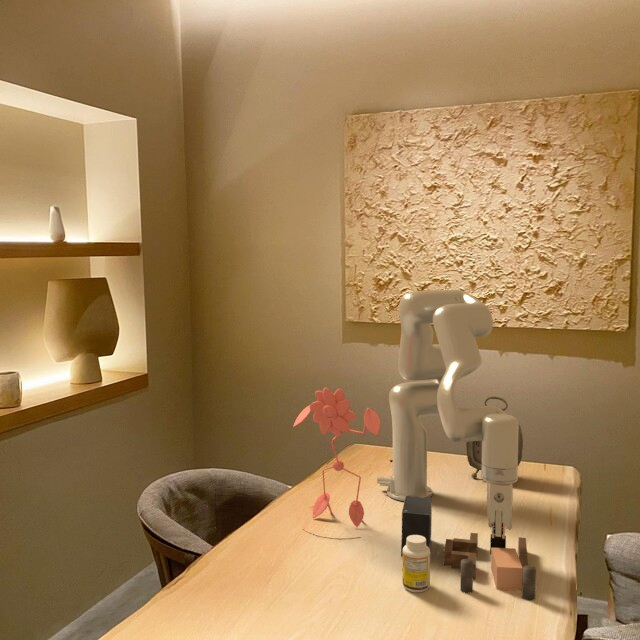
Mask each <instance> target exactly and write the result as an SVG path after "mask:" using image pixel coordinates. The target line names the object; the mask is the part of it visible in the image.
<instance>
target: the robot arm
mask: <svg viewBox="0 0 640 640" xmlns="http://www.w3.org/2000/svg"><path fill="white" fill-rule="evenodd" d="M398 316H399V321H400V327H401V329H400V330H401V333H400V334H401V335H400V343H399V350H398V351H399V353H398V364H397V365H398V367H397V368H398V374H399V376H400V377H401V378H402V379H404V380H406V381H411V382H402V383H398V384H395V386H393V387H392V388H391V389H390V391H389V394H388V402H389V408H390V413H391V415H390V416H391V423H392V424H391V427H392V476H388V477H384V476H377V478H376V482H377V485H378V484H379V486H380V487H387V488H386V494H387V496H388V497H389V498H391V499H394V500H396V501H401V502H405V497H406V496H411V497H421V498H432V496H433V490H432V488H431V487H429V486H428V485H427V484H428V483H427V482H428V480H427V479H428V477H427V475H428V471H427V470H428V433H427V430H426V427H425V426H424V424H422V422H421V421H420V418H421V417H428V416H437V415H439V417H440V421H441V426H442V428H443V431H444V433H445V435H446V437H448V439H449V440H450V441H452V442H454V443H467V442H471V441H480V440H482V468H481V470H480V471H481V472H480V473H481V480H483V481H484V482H486V508H487V509H486V513H487V521H488V527H489V529H491V533H490V542H489V543H490V546H489V547H490V551H489V552H490V555H491V548H507V546H506V545H507V544H506V543H507V535H505V534H506V530H509V531H511V530H512V529H513V508H514V507H513V506H514V505H513V501H514V499H513V498H514V497H513V496H514V491H513V490H514V489H513V487H514V486H513V484H515V483H517V482H518V472H519V471H518V469H519V468H518V467H519V466H518V430H519V425H520V424H519V420H518V418H516V417H515V415H514V416H513V415H511V414H508V413H506V412H505V411H502V410H501V409H502V408H500V407H499V406H497V405H487V406H485V405H481V406H466V407H459V408H458V405H457V402H456V397H455V386H456V383H457V382H458V381H459V380H461V379H462V378H465V377H467V376H468V375H471V374H472V373H474V372H475V371H477V370H478V369H479V368H480V367H481V365H482V362H483V360H482V355H481V353H480V349H479V346H478V344H477V340H476V338H485V337H487V336H489V335H490V334H491V333H492V330H493V327H494V320H493V316H492V311H490V309H489V307H488V306H487V305H486V304H485V303H484V302H483V301H481V300H480V299H478V298H477V297H475V296H473V295H472V294H470V293H469V292H466V291H464V290H461V289H441V290H438V289H435V290H434V289H433V290H429V289H428V290H415V291H410V292H407V293H405V294H404V295H403V296H402V297H401V298H400V301H399V305H398ZM431 324H433V325H431ZM433 328H434V329H433ZM434 331H435V336H436V339H437V342H438V344H437V343H434V341H433V340H434ZM433 343H434V344H433ZM496 406H497V407H496Z"/></svg>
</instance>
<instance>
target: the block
mask: <svg viewBox="0 0 640 640" xmlns="http://www.w3.org/2000/svg"><path fill="white" fill-rule="evenodd" d="M490 570H491V573H492V577H493V580H494V584H495V588H496V590H504V591H505V590H506V591H507V590H509V591H522V590H523V585H522V572H523V568H522V565H521V563H520V560H519V556H518V551H517V550H516V548H512V547H511V548H510V547H506V548H491V554H490Z"/></svg>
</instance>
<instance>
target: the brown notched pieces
mask: <svg viewBox="0 0 640 640" xmlns="http://www.w3.org/2000/svg"><path fill="white" fill-rule="evenodd" d="M469 536H470V537H469V539H467V538H455V537H454V538H453V539H451V538H446V539H445V542H444V550H443V566H445V567H450V569H455V570H456V569H457V570H460V589H459V590H460V592H462V593H464V592H465V594H471V593H473V591H474V590H473V589H474V588H473V585H474V583H473V581H474V580H475V579H476V569H477V557H478V547H479V546H478V542H479V541H478V540H479V539H478V537H479V533H477V532H470V535H469ZM517 542H518V544H517V545H518V546H517V549H518V550H517V555H518V557H519V560H520V563H521V565H522V568H523V572H522V590H521V591H522V592H521V593H522V595H521V596H522V598H523V599H524V600H525V601H526V600H527V601H534V600H535V599H536V576H537V575H536V574H537V573H536V571H537V568H536V567H535V566H534V565H529V559H528V548H527V539H526V537H522V536H521V537H520V536H518V541H517ZM470 592H471V593H470Z"/></svg>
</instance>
